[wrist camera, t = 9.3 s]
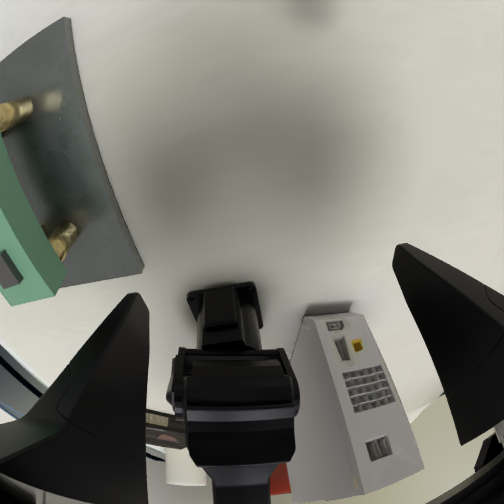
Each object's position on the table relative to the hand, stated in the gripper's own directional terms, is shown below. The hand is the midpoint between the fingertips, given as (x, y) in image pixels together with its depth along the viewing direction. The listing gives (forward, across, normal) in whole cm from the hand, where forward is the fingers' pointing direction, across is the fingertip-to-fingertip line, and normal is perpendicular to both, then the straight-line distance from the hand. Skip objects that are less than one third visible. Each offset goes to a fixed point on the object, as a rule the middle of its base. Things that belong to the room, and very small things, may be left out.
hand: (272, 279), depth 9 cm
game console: (+12, -4, +29) cm, 32 cm away
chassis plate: (+12, +17, -4) cm, 21 cm away
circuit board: (+7, +17, -4) cm, 19 cm away
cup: (+12, +31, +76) cm, 83 cm away
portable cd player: (+13, +27, +48) cm, 57 cm away
